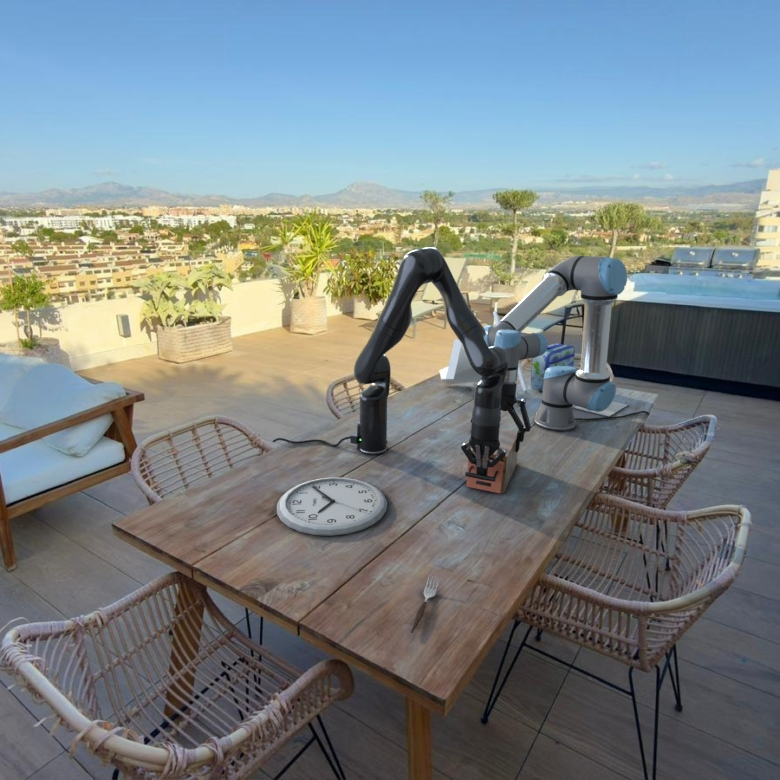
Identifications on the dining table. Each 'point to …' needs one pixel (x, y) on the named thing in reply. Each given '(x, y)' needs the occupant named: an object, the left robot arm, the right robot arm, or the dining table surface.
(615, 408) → the invitation card
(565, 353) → the lunch box
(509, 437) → the cabinet
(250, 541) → the dining table surface
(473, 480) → the drawer
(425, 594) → the fork
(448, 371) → the white plastic object
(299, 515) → the wall clock
